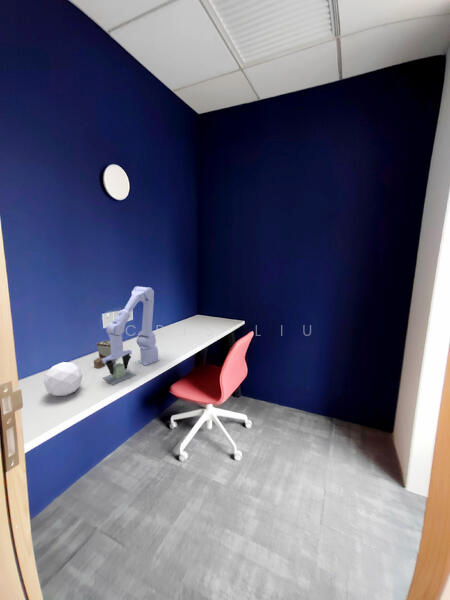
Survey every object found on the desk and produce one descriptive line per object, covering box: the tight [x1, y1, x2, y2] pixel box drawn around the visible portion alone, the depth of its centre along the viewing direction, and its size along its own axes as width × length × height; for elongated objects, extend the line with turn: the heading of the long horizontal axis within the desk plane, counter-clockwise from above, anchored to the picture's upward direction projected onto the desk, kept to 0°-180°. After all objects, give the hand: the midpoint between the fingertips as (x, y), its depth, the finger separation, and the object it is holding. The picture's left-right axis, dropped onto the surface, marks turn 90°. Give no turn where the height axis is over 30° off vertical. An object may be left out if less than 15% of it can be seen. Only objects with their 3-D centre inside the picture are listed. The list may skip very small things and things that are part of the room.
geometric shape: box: [43, 361, 83, 397], centre depth 114 cm, size 14×15×15 cm
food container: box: [96, 340, 111, 358], centre depth 151 cm, size 12×6×10 cm, turn 74°
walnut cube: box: [93, 357, 106, 370], centre depth 141 cm, size 4×4×4 cm
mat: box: [102, 369, 136, 386], centre depth 130 cm, size 12×10×1 cm
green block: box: [113, 362, 125, 379], centre depth 129 cm, size 4×4×6 cm
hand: (118, 371), depth 129 cm, fingers open, 7 cm apart
